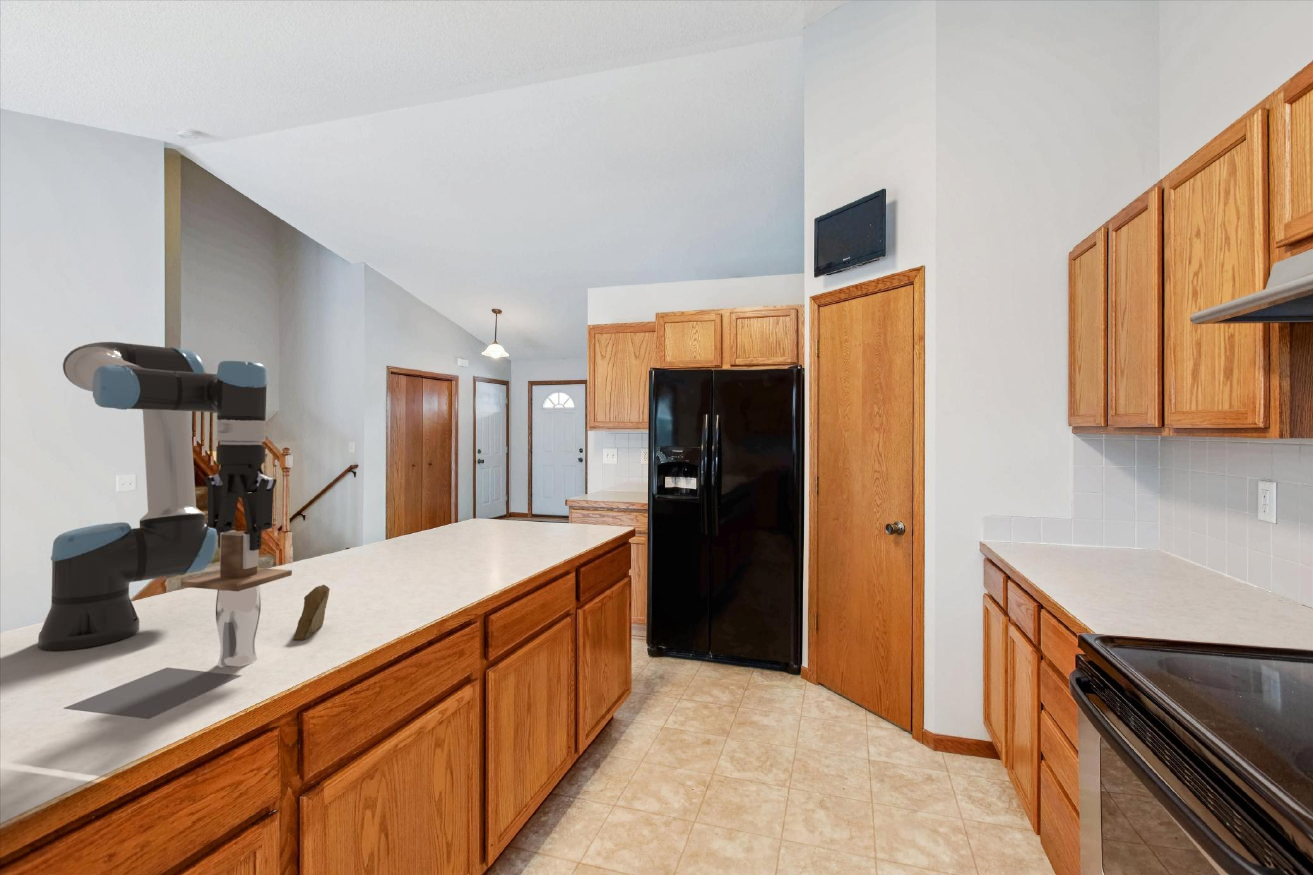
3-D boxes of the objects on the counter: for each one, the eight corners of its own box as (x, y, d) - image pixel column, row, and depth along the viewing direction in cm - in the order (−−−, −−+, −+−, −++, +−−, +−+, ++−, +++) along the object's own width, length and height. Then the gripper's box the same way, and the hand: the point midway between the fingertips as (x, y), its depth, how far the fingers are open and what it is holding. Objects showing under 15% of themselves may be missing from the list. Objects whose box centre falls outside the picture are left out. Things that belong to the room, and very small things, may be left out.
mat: (63, 711, 90) (63, 707, 90) (166, 670, 106) (166, 667, 106) (148, 721, 87) (148, 718, 87) (241, 678, 103) (241, 675, 103)
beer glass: (253, 654, 114) (254, 578, 114) (265, 663, 109) (266, 585, 109) (209, 664, 108) (211, 585, 108) (220, 675, 104) (222, 592, 104)
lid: (180, 586, 104) (182, 537, 104) (239, 571, 116) (240, 526, 116) (238, 591, 102) (239, 540, 102) (291, 575, 114) (292, 529, 114)
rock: (310, 632, 120) (347, 612, 130) (287, 599, 120) (326, 581, 130) (281, 657, 123) (319, 635, 133) (258, 624, 124) (298, 605, 133)
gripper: (183, 442, 106) (181, 568, 107) (264, 444, 104) (262, 574, 104) (220, 442, 114) (218, 559, 114) (297, 444, 111) (295, 564, 111)
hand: (239, 566), depth 109 cm, fingers open, 4 cm apart
